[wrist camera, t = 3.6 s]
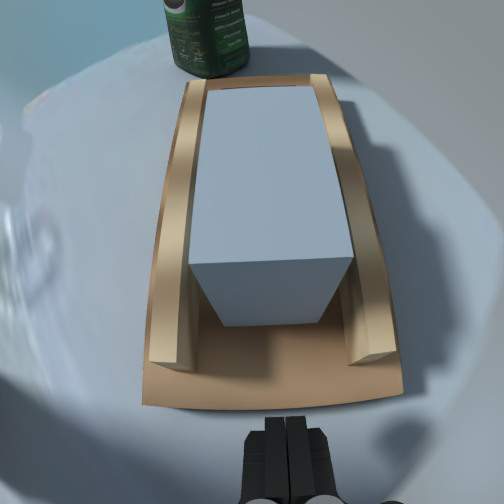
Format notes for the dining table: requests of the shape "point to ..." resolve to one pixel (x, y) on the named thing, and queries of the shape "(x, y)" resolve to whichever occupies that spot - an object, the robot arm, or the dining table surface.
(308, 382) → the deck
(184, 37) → the coffee jar
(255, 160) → the block
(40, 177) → the dining table surface
